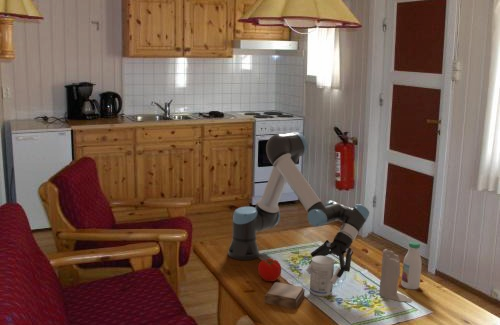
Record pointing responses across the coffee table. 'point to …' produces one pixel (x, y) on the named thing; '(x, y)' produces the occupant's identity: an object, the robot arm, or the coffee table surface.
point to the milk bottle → (412, 267)
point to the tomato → (269, 269)
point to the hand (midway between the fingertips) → (319, 277)
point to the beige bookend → (391, 277)
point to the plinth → (285, 295)
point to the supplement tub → (321, 275)
